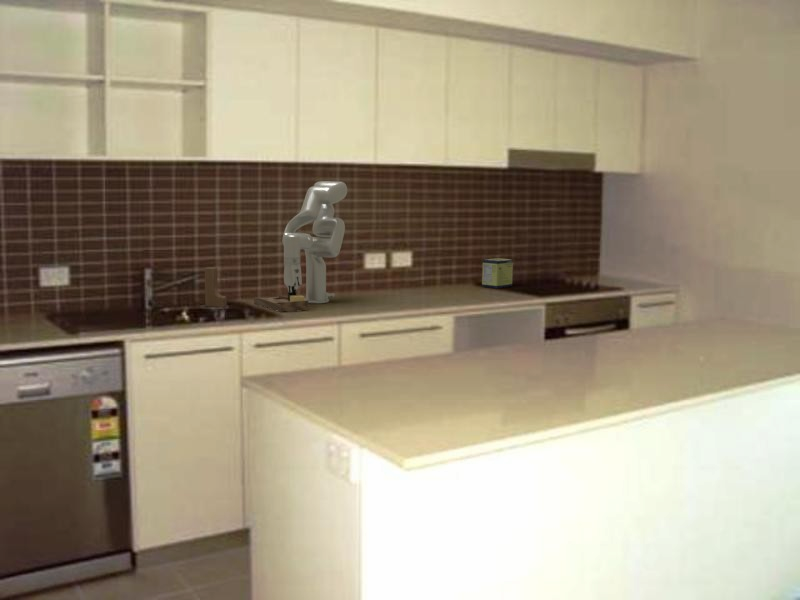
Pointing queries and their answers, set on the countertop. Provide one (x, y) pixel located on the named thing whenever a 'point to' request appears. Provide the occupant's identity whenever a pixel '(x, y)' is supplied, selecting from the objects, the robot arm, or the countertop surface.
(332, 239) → the robot arm
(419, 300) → the countertop surface
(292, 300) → the block
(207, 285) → the wooden block
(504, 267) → the protein box
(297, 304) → the trap board
